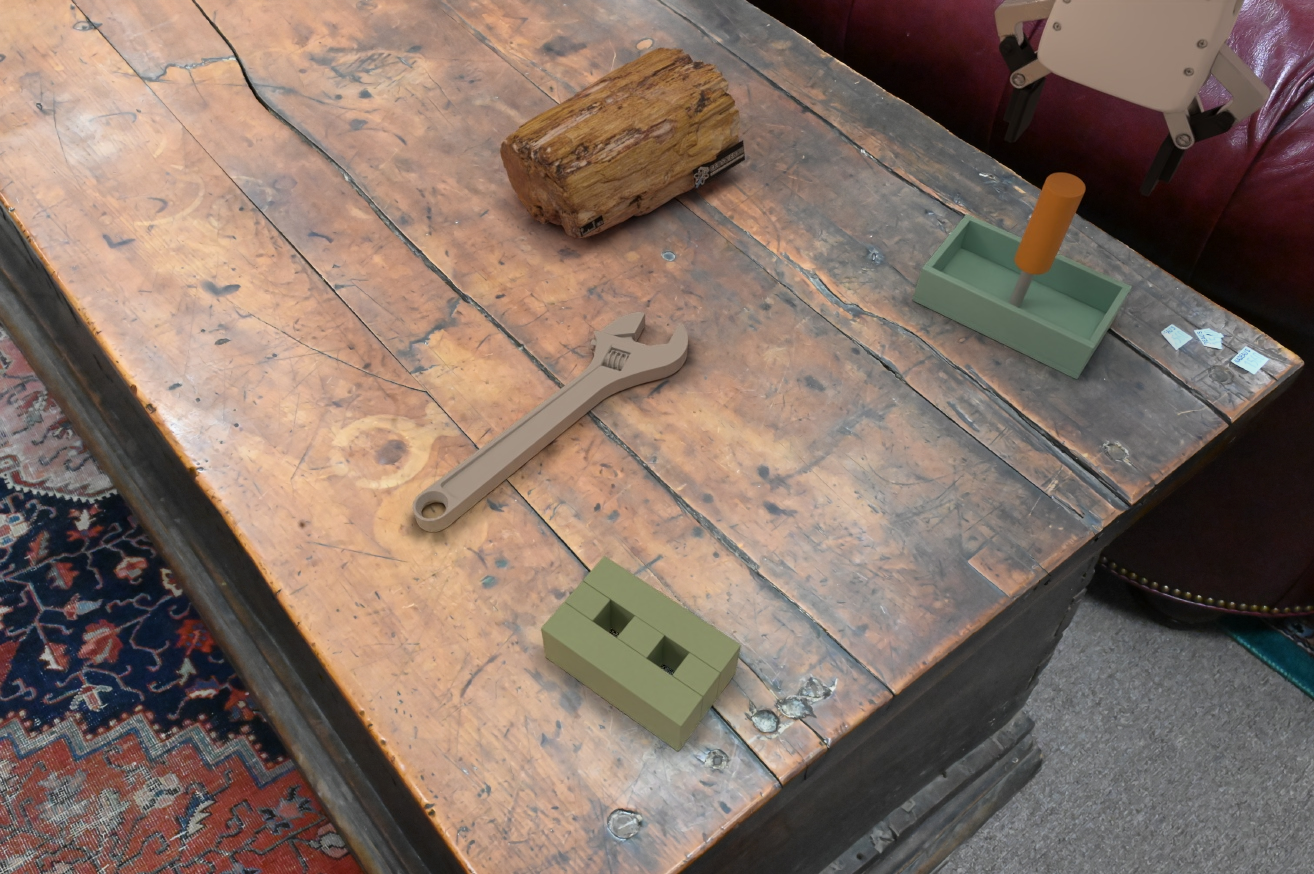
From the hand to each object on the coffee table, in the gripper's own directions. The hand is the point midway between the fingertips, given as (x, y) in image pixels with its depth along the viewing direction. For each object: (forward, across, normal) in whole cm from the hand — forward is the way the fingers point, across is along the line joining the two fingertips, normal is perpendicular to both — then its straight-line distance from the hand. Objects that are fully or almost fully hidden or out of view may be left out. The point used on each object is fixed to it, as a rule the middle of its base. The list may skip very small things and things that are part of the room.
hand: (1081, 158), depth 70 cm
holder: (+16, +6, +42) cm, 46 cm away
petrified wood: (+15, +36, +6) cm, 39 cm away
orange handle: (+15, +1, 0) cm, 15 cm away
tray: (+15, 0, 0) cm, 15 cm away
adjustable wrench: (+16, +24, +30) cm, 42 cm away
